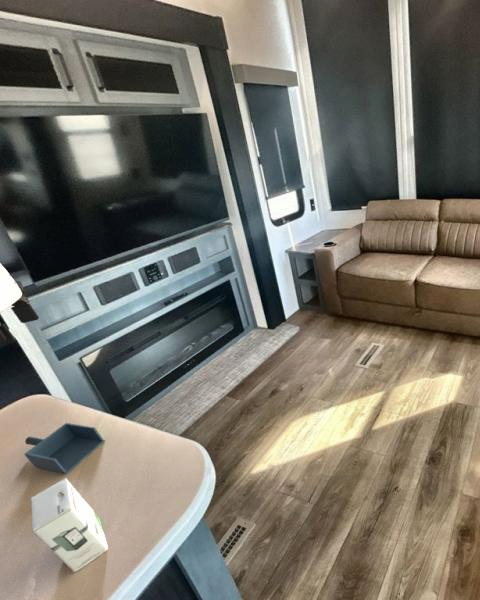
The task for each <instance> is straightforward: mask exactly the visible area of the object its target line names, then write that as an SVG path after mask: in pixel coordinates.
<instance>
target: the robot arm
mask: <svg viewBox="0 0 480 600" xmlns="http://www.w3.org/2000/svg"><path fill="white" fill-rule="evenodd" d="M9 308H10V309H11V311H12V312H13V313H14V315H15V316H16V318H17V319H18V320H19V322H20V323H21V324H25V323H30V322H34V321H38V320H39V319H40V317H39V315H38V314H37V312H36V311H35V309H34V308H33V306H32V305H31V304H30V299H29V298H28V297H27V292H26V290H25V289H24V287H23V283H22V281H20V280H14V278H13V277H12V275H11V274H10V273H9V272H8V270H7V269H6V268H5V267H4V266H3V265H2V263H0V314H1V313H3V312H4V311H5V310H7V309H9ZM16 339H17V338H16V337H15V336H14V335H13V333H12V332H11V331H10V330H9V328H8V326H7V325H6V324H5V323H0V346H2V345H5V344H11V343H14V342H15V341H16Z"/></svg>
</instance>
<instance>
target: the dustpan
mask: <svg viewBox="0 0 480 600" xmlns="http://www.w3.org/2000/svg"><path fill="white" fill-rule="evenodd" d="M24 442H25V444H26V445H30V446H33V447H32V448H31V449H29V450H28V451H26V452H25V453H24V454H23V455H24V456H25V457H26V459H27V460H28V461H29V462H30V463H31V464H32V465H33V466H34V467H35V469H40V470H45V471H49V472H54V473H58V474H63V475H68V474H69V473H70V472H71V471H72V470H74V469H75V468H76V467H77V466H78V465H79V464H80V463H81V462H83V461H84V460H85V459H86V458H87V457H88V456H90V455H91V454H92V453H93V452H94V451H95V450H96V449H98V448H100V446H102V444H103V443H104V442H106V440H105V439H104V438H103V437H102V435H101V434H100V433H99V431H98V430H97V428H96V427H94V426H89V425H82V424H75V423H71V422H70V423H69V422H65V423H64V424H63V425H61V426H60V427H58V428H57V429H56V430H55V431H53V432H52V433H51V434H49V435H48V436H47V437H41V436H35V435H29V436H28V437H26V438H25V440H24Z"/></svg>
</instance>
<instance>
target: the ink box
mask: <svg viewBox="0 0 480 600" xmlns="http://www.w3.org/2000/svg"><path fill="white" fill-rule="evenodd" d="M30 503H31V504H30V505H31V524H32V526H31V527H32V533H33V534H34V535H36V537H37V538H39V539H40V541H42V542H43V543H44V544H45V545H46V546H47V547H48V548H49V549H50V550H51V551H52V552H53V553H54V554H55V555H56V556H57V557H58V558H59V559H60V560H61V561H62V562H63V563H64V564H65V565H66V566H67V567H68V568H69V569H70V570H71V571H72V572H73V573H76V572H78V571H80V570H81V569H83V568H84V567H86V566H87V565H88V564H90V563H91V562H92V561H94V560H95V559H97V558H98V557H100V556H102V555H103V554H104V553H105V552H107V551H108V549H109V546H108V541H107V539H106V535H105V532H104V529H103V525H102V522H101V518H100V517H99V516H98V515H97V513H96V512H95V511H94V509H93V508H92V507H91V506H90V505H89V503H88V502H87V501H86V500H85V499H84V498H83V496H82V495H81V494H80V493H79V492H78V490H76V488H75V487H74V486H73V484H71V482H70V481H69V480H68V478H67V477H66V478H63V479H61V480H60V481H57V482H56V483H54V484H53V485H51V486H49V487H47V488H45V489H43V490H42V491H40V492H38V493H37V494H35V495H33V496H32V497H31V498H30Z"/></svg>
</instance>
